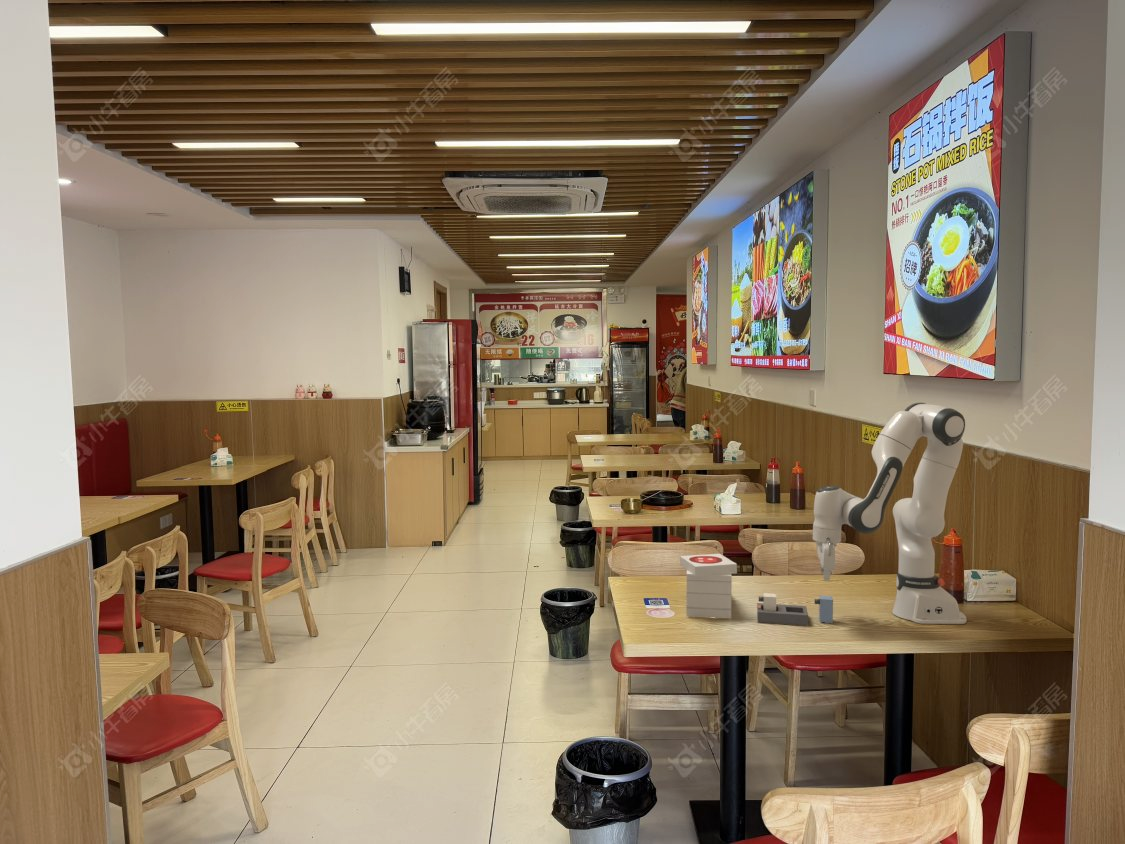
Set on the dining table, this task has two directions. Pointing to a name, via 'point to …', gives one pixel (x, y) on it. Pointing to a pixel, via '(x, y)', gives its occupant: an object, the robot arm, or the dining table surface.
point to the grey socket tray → (783, 615)
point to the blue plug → (825, 608)
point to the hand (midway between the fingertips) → (825, 576)
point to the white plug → (768, 602)
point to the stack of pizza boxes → (708, 585)
